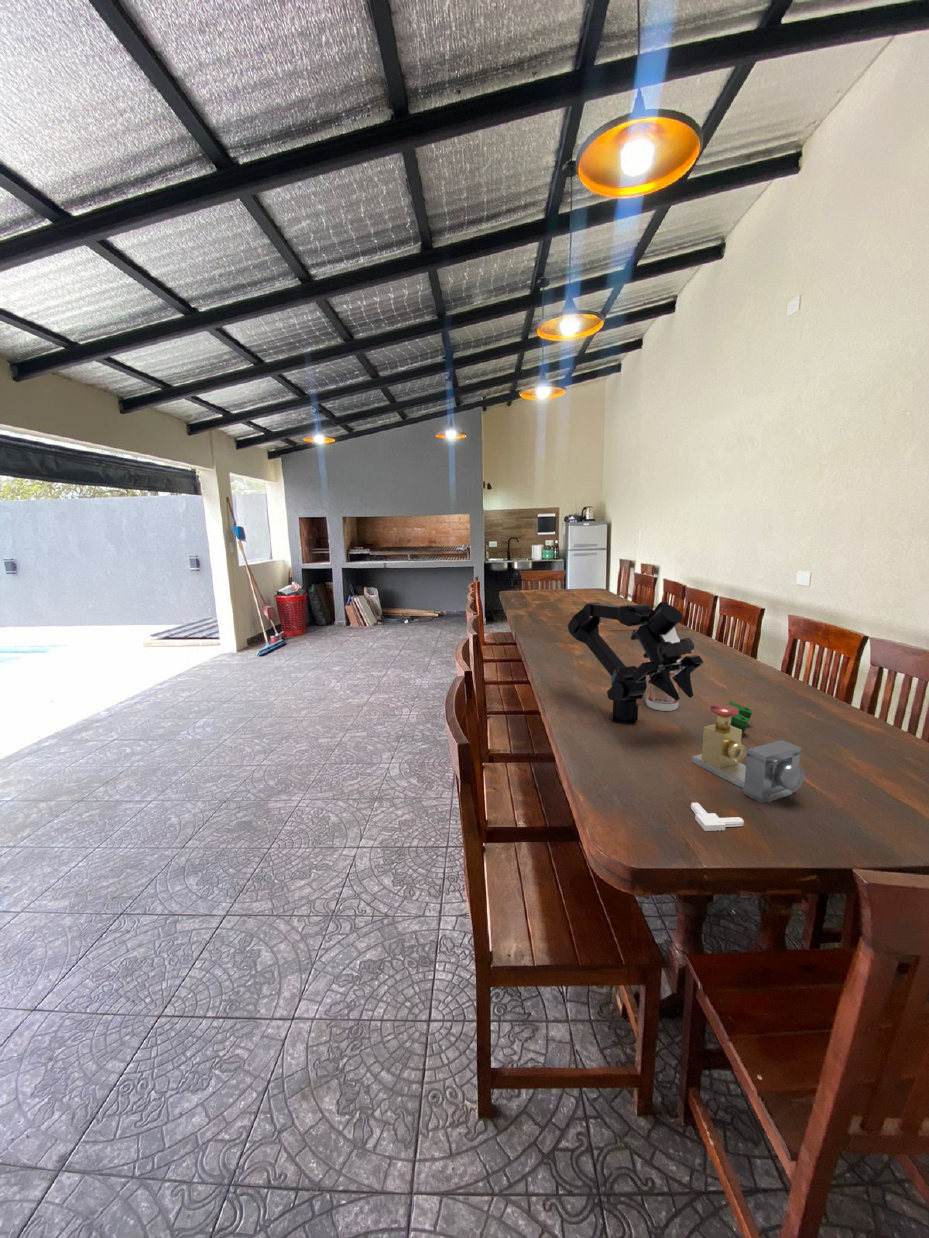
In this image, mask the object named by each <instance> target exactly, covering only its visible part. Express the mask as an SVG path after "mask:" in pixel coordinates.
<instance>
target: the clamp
mask: <svg viewBox="0 0 929 1238" xmlns="http://www.w3.org/2000/svg"><path fill="white" fill-rule="evenodd" d="M727 705H731V706H734V707H736V708H738V709H739V712H738V715H736V716H731V726H733V727H736V728H738V729H741V730H742V735H744V733H745V731H746V729H747V726H748V725H749V722H750V720H751V716H752V714H753V710H752V709H751V708H749V707H747V706H744V705H742V704H739V703H737V702H734V701H730V700H729V702H728V704H727Z"/></svg>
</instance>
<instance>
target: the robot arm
mask: <svg viewBox="0 0 929 1238" xmlns="http://www.w3.org/2000/svg"><path fill="white" fill-rule="evenodd" d="M682 615H683V614H682V613H681V611H680V610H679V609H677V608H676V607H674V606H673V605H671V604H669V603H668V602H667V601H660V602H659V603H658V604H657V606H656V607H655V608H654V609H653V608H651V607H650V605H649V604H647V603H641V604H640V603H639V604H638V603H637V604H629V605H619V604H618V605H617V604H616V605H615V604H608V603H601V602H599V601H598V602H589V603H588V602H587V603H586V604H585V605H584V606H583V608H582V609H581V610H579V611H577V612H576V613H575V614H574V615H573V616H572V618H570V620H569V622H568V625H567V630H568V633H569V634H570V635H571V636H572V637H573V638H574V639H575V640H576V641H578V642H580V643H583V644H585V645H586V646H587V648H589V650H590V651H591V653H593V655H594V657H596V659H597V660H598V661H599V663H600V664H601V665H602V666H603V667H604V669H605V670H606V671H607V673H608V674H609V676H611V677H610V679H611V681H610V682H611V687H610V688H608V690H607V691H606V693H607V694H606V695H607V699H609V700H611V701H612V716H611V722H614V723H620V724H621V723H622V724H629V725H635V724H636V723H637V722H636V721H638V719H639V709H640V708H639V707H640V704H639V703H638V702H637V701H638V700H642V699H643V698H644V695H645V694H646V693H645V692H646V690H647V675H649V676H650V680H649V681H648V683H649V684H653V685H654V686H656V687H658V688H659V689H661V690H662V691H664V692H665V693H666V694H668V695H669V696H671V697H672V698H673V699H675V700H676V701H677V700H679V701H680V699H681V698H680V694H679V695H678V693H677V691H676V689H675V687H674V685H673V683H672V681H671V679H670V671H673V673H674V674H675V676H674V677H673V678H672V679H673V680H674V681H675V682H676V683H677V685H678V686H679V687H680V690H681V691H682V692H683V693H684V695H686V696H687V697H688V698H690V699H691V698H693V697H694V693H693V686H692V681H691V673H693V672H694V671H695V670H697V669H698V668H699V667H700V666H702V665H703V664H704V660H703V659H702V658H701V656H700V655H697V654H692V653H693V652H692V651H693V650H694V649H695V644H694V642H693V640H692V639H691V638H690V637H685V638H682V639H680V642H676V643H671V642H670V641H669V642H666V641H665V640H664V638H663V636H662V635H666V634H668V633H669V632H670V631H671V630H672V629H673V628H674V627H675V628H676V627H677V626H678V624H679V623H681V622H682V620H683V616H682ZM601 618H603V619H611V620H616V621H618V622H619V623H620V624H622V625H624V626H626V627H629V628H630V627H637V626H639V627H638V628H637V629H633V630H632V633H631V636H630V640H631V641H636V640H638V642H639V643H640V646H641V647H642V649H643V651H644V653H643V654H642V655H643V656H642V657H643V658H644V659H648V660H650V662H648V661H647V662H642V663H641V664H640V665H638V667H637V666H635V665H631V666H626V665H625V664H624V663H623V661H622V660H621V659H620V657H618V656H617V654H616V653H615V652H614V650H612V648H611V647H610V646H609V644H608V643H607V642H606V641H605V640H604V638H603V637H602V636H601V635H600V627H599V625H600V624H601V621H602V620H601ZM690 654H692V655H690ZM683 655H686V656H684V657H683V658H682V656H683ZM679 659H681V661H680V662H677V660H679Z"/></svg>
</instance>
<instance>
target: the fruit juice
mask: <svg viewBox="0 0 929 1238" xmlns="http://www.w3.org/2000/svg"><path fill="white" fill-rule="evenodd" d="M662 636H663V638H664V640H665V641H666V642H669V641H670V642H671V643H676V642H680V640H681V639H680V638H679V635H678V634H677V630H676V626H675V627H674V628H673V629H672V630H671V631H670V632H669V633H668V634H666V635H662ZM681 660H682V658H681V659H679V660H677V662H680V661H681ZM647 662H650V660H649V659H648V661H647ZM674 676H675V674H674V673H673V671H670V679H671V681H672V683H673V685H674V687H675V689H676V691H677V693H678V695H679V696H680V692H681V691H680V690H681V688H680V687H679V686H678V685H677V683H676V682H675V681H674V680H673V679H672V678H673V677H674ZM649 680H650V676H649V675H646V684H647V687H646V691H645V692H646V693H645V703H646V706H647V707H648V708H650V709H653V710H656V711H662V712H669V711H670V712H671V711H673V712H674V711H675V710H678V708H679V705H680V699H679V700H677V701H676V700H675V699H673V698H672V697H671V696H669V695H668V694H666V693H665V692H664V691H662V690H661V689H659V688H658V687H656V686H654V685H653V684H649V683H648V681H649Z"/></svg>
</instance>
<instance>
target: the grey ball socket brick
mask: <svg viewBox="0 0 929 1238" xmlns="http://www.w3.org/2000/svg"><path fill="white" fill-rule="evenodd" d="M801 750H802V747H801V746H798V745H795V744H793V743H791V742H789V741H786V740H783V739H781V740H775V741H773V742H769V743H765V744H762V745H758V746H754V747H751V748H747V754H746V762H745V764H746V765H745V764H744V763H741V762H739V763H738V764H734V765H731V766H727V767H723V768H718V767H716V766H714V765H712V764H710V763H708V762H706V761H704V760H702V759H701V757H702V753H700V754H696V755H692V763H693V764H695V765H697V766H699V767H701V768H703V769H704V770H707V771H709V772H711V773H712V774H714V773H715V775H716V776H718V777H720V778H722V779H724V780H725V781H728V782H730V783H732V784H734V785H735V786H737V787H739V788H741V789H743V795H745V796H747V797H749V798H750V799H753V800H754V801H757V802H758V803H760V804H763V803H767V802H768V803H770V802H773V801H776V800H779V799H781V798H785V797H788V796H791V795H792V794H794V793H797V791H798V790H799V789H800V788H801V787H802V785H803V783H804V781H805V779H806V778H805V777H806V772H805V769H804V768H803V767H801V766H800V759H801Z"/></svg>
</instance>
